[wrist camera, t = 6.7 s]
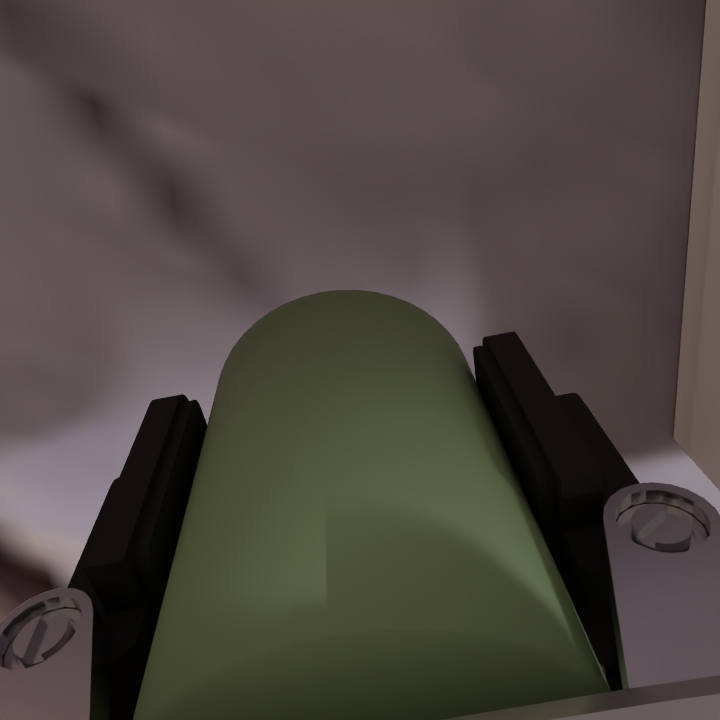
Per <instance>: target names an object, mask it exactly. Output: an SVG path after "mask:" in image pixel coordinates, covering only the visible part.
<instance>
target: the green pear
mask: <svg viewBox="0 0 720 720" xmlns="http://www.w3.org/2000/svg"><path fill="white" fill-rule="evenodd" d="M605 692H611V690H610V688H609V685H608V683H607V681H606V678H605V676H604V674H603V672H602V669H601V667H600V665H599V662H598V660H597V658H596V656H595V653H594V651H593V649H592V646H591V644H590V642H589V640H588V637H587V635H586V633H585V630H584V628H583V626H582V623H581V621H580V619H579V617H578V614H577V612H576V610H575V607H574V605H573V603H572V601H571V598H570V596H569V594H568V591H567V589H566V587H565V585H564V582H563V580H562V578H561V575H560V573H559V571H558V569H557V566H556V564H555V562H554V559H553V557H552V555H551V552H550V550H549V548H548V546H547V543H546V541H545V539H544V536H543V534H542V532H541V530H540V527H539V525H538V523H537V520H536V518H535V516H534V514H533V511H532V509H531V507H530V504H529V502H528V500H527V497H526V495H525V493H524V491H523V488H522V486H521V484H520V481H519V479H518V477H517V475H516V472H515V470H514V468H513V465H512V463H511V461H510V459H509V456H508V454H507V452H506V449H505V447H504V445H503V443H502V440H501V438H500V436H499V433H498V431H497V429H496V426H495V424H494V422H493V420H492V417H491V415H490V413H489V410H488V408H487V406H486V404H485V401H484V399H483V397H482V394H481V392H480V390H479V388H478V385H477V383H476V381H475V378H474V376H473V374H472V372H471V369H470V367H469V365H468V362H467V360H466V358H465V356H464V354H463V352H462V350H461V348H460V347H459V345H458V343H457V342H456V341H455V339H454V338H453V337H452V335H451V334H450V333H449V331H447V330H446V329H445V328H444V327H443V326H442V325H441V324H440V323H439V322H438V321H437V320H436V319H435V318H433V317H432V316H430V315H429V314H428V313H426V312H425V311H423V310H422V309H420V308H418V307H416V306H414V305H412V304H411V303H409V302H406V301H403V300H401V299H398V298H395V297H393V296H389V295H385V294H381V293H377V292H370V291H361V290H336V291H328V292H321V293H316V294H313V295H309V296H305V297H301V298H299V299H296V300H294V301H291V302H289V303H286V304H284V305H282V306H280V307H278V308H277V309H275V310H273V311H271V312H269V313H268V314H267V315H265V316H264V317H263V318H261V319H260V320H259V321H257V322H256V323H255V324H254V325H253V326H252V327H251V328H249V329H248V330H247V331H246V332H245V333H244V334H243V336H242V337H241V338H240V339H239V341H238V342H237V343H236V345H235V346H234V347H233V349H232V351H231V352H230V354H229V356H228V358H227V359H226V361H225V364H224V367H223V369H222V372H221V375H220V378H219V382H218V386H217V390H216V394H215V398H214V402H213V406H212V410H211V414H210V417H209V421H208V425H207V429H206V433H205V437H204V441H203V445H202V449H201V453H200V457H199V461H198V465H197V469H196V473H195V477H194V481H193V484H192V488H191V492H190V496H189V500H188V504H187V508H186V512H185V516H184V520H183V524H182V528H181V532H180V536H179V540H178V544H177V547H176V551H175V555H174V559H173V563H172V567H171V571H170V575H169V579H168V583H167V587H166V591H165V595H164V599H163V603H162V607H161V611H160V614H159V618H158V622H157V626H156V630H155V634H154V638H153V642H152V646H151V650H150V654H149V658H148V662H147V666H146V670H145V674H144V677H143V681H142V685H141V689H140V693H139V697H138V701H137V705H136V709H135V713H134V717H133V720H442V719H448V718H454V717H460V716H466V715H473V714H479V713H485V712H491V711H497V710H503V709H509V708H515V707H521V706H527V705H533V704H539V703H545V702H551V701H557V700H563V699H569V698H575V697H581V696H587V695H593V694H599V693H605Z"/></svg>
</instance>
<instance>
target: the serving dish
mask: <svg viewBox="0 0 720 720" xmlns="http://www.w3.org/2000/svg"><path fill="white" fill-rule="evenodd" d="M673 439H674V440H675V441H676V442H677V443H678V444H679V445H680V447H681V448H682V449H683V450H684V451H685V452H686V453H687V454H688V456H689V457H690V458H691V459H692V460H693V461H694V462H695V463H696V465H697V466H698V467H699V468H700V469H701V470H702V471H703V472H704V474H705V475H706V476H707V477H708V478H709V479H710V480H711V481H712V483H713V484H714V485H715V486H716V487H717V488H718V489H719V490H720V0H706V12H705V26H704V39H703V52H702V65H701V79H700V92H699V105H698V118H697V132H696V145H695V158H694V172H693V185H692V198H691V211H690V225H689V238H688V251H687V264H686V278H685V291H684V304H683V318H682V331H681V344H680V357H679V371H678V384H677V397H676V411H675V424H674V437H673Z"/></svg>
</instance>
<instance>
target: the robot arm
mask: <svg viewBox="0 0 720 720" xmlns="http://www.w3.org/2000/svg"><path fill="white" fill-rule="evenodd" d="M473 356H474V365H475V375H476V383H477V385H478V388H479V390H480V392H481V394H482V397H483V399H484V401H485V404H486V406H487V408H488V410H489V413H490V415H491V417H492V420H493V422H494V424H495V426H496V429H497V431H498V433H499V436H500V438H501V440H502V443H503V445H504V447H505V449H506V452H507V454H508V456H509V459H510V461H511V463H512V465H513V468H514V470H515V472H516V475H517V477H518V479H519V481H520V484H521V486H522V488H523V491H524V493H525V495H526V497H527V500H528V502H529V504H530V507H531V509H532V511H533V514H534V516H535V518H536V520H537V523H538V525H539V527H540V530H541V532H542V534H543V536H544V539H545V541H546V543H547V546H548V548H549V550H550V552H551V555H552V557H553V559H554V562H555V564H556V566H557V569H558V571H559V573H560V575H561V578H562V580H563V582H564V585H565V587H566V589H567V591H568V594H569V596H570V598H571V601H572V603H573V605H574V607H575V610H576V612H577V614H578V617H579V619H580V621H581V623H582V626H583V628H584V630H585V633H586V635H587V637H588V640H589V642H590V644H591V646H592V649H593V651H594V653H595V656H596V658H597V660H598V662H599V664H601V669H602V672H603V674H604V676H605V678H606V681H607V683H608V685H609V688H610V690H611V692H605V693H599V694H593V695H587V696H581V697H575V698H569V699H563V700H557V701H551V702H545V703H539V704H533V705H527V706H521V707H515V708H509V709H503V710H497V711H491V712H485V713H479V714H473V715H466V716H460V717H454V718H448V719H442V720H720V515H719V513H718V512H717V510H716V508H715V507H713V506H712V505H711V504H710V503H709V502H708V501H707V500H705V499H704V498H703V497H701V496H699V495H697V494H695V493H693V492H692V491H690V490H688V489H684V488H681V487H678V486H674V485H671V484H663V483H653V482H651V483H639V482H638V480H637V479H636V477H635V476H634V474H633V473H632V471H631V470H630V469H629V467H628V466H627V464H626V463H625V461H624V460H623V458H622V457H621V455H620V454H619V453H618V451H617V450H616V448H615V447H614V445H613V444H612V442H611V441H610V439H609V438H608V437H607V435H606V434H605V432H604V431H603V429H602V428H601V426H600V425H599V423H598V422H597V421H596V419H595V418H594V416H593V415H592V413H591V412H590V410H589V409H588V407H587V406H586V405H585V403H584V402H583V400H582V399H581V398H580V396H579V395H578V394H576V393H570V394H564V395H559V396H555V394H554V393H553V391H552V390H551V388H550V386H549V385H548V383H547V382H546V380H545V378H544V377H543V375H542V374H541V372H540V370H539V369H538V367H537V366H536V364H535V362H534V361H533V359H532V358H531V356H530V354H529V353H528V351H527V350H526V348H525V346H524V345H523V343H522V342H521V340H520V338H519V337H518V335H517V334H516V333H515V332H509V333H503V334H498V335H493V336H488V337H484V338H483V345H482V346H477V347H474V348H473ZM206 429H207V423H206V421H205V418H204V415H203V412H202V410H201V407H200V405H199V403H198V401H196V400H192V401H189V400H188V399H187V397H186V396H185V395H183V394H182V395H177V396H171V397H166V398H161V399H155V400H152V401H151V403H150V405H149V407H148V410H147V412H146V415H145V417H144V419H143V422H142V424H141V427H140V429H139V431H138V434H137V436H136V439H135V441H134V443H133V446H132V448H131V451H130V453H129V456H128V458H127V460H126V463H125V465H124V468H123V470H122V472H121V475H120V477H119V478H117V479H115V480H114V482H113V483H112V485H111V487H110V489H109V491H108V494H107V496H106V498H105V501H104V503H103V505H102V508H101V510H100V512H99V515H98V517H97V519H96V522H95V524H94V526H93V529H92V531H91V534H90V536H89V538H88V541H87V543H86V545H85V548H84V550H83V552H82V555H81V557H80V559H79V562H78V564H77V566H76V569H75V571H74V573H73V576H72V578H71V581H70V583H69V585H68V588H59V589H55V590H51V591H48V592H44V593H42V594H40V595H38V596H36V597H33V598H31V599H29V600H27V601H26V602H25V603H23V604H22V605H20V606H19V607H17V608H16V609H15V610H13V611H12V612H11V613H10V614H9V615H8V616H7V617H6V618H5V619H4V620H3V621H2V622H0V720H133V717H134V713H135V709H136V705H137V701H138V697H139V693H140V689H141V685H142V681H143V677H144V674H145V670H146V666H147V662H148V658H149V654H150V650H151V646H152V642H153V638H154V634H155V630H156V626H157V622H158V618H159V614H160V611H161V607H162V603H163V599H164V595H165V591H166V587H167V583H168V579H169V575H170V571H171V567H172V563H173V559H174V555H175V551H176V547H177V544H178V540H179V536H180V532H181V528H182V524H183V520H184V516H185V512H186V508H187V504H188V500H189V496H190V492H191V488H192V484H193V481H194V477H195V473H196V469H197V465H198V461H199V457H200V453H201V449H202V445H203V441H204V437H205V433H206Z"/></svg>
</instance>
